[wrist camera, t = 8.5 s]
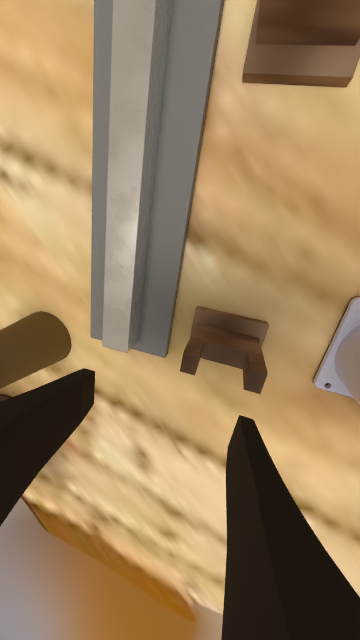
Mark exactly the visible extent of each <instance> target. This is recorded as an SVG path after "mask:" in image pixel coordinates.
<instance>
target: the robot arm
mask: <svg viewBox="0 0 360 640" xmlns="http://www.w3.org/2000/svg"><path fill="white" fill-rule="evenodd" d="M313 383H314V385H315V386H316V387H317V388H319V389H323V390H326V391H330V392H334V393H338V394H341V395H345V396H349V397H353V398H354V399H355V400H356V401H357V403H358V404H359V405H360V297H356V298H354V299H352V300H351V302H350V303H349V306H348V308H347V310H346V312H345V314H344V316H343V318H342V320H341V323H340V325H339V327H338V329H337V331H336V333H335V335H334V338H333V340H332V342H331V344H330V346H329V348H328V350H327V352H326V355H325V357H324V359H323V361H322V363H321V365H320V367H319V370H318V372H317V374H316V376H315V378H314V381H313ZM326 383H329V385H327V386H326V385H325V384H326ZM94 386H95V371H92V370H88V369H85V368H84V369H81V370H78V371H76V372H73V373H71V374H69V375H66V376H64V377H62V378H59V379H57V380H55V381H52V382H50V383H48V384H45V385H43V386H41V387H38V388H36V389H33V390H30V391H28V392H25V393H23V394H20V395H17V396H15V397H12V398H9V399H7V400H4V401H1V402H0V526H1V524H2V523H3V521H4V520H5V519H6V517H7V516H8V514H9V513H10V511H11V510H12V508H13V507H14V505H15V504H16V503H17V501H18V500H19V499H20V497H21V496H22V494H23V493H24V492H25V490H26V489H27V488H28V486H29V485H30V484H31V482H32V481H33V479H34V478H35V477H36V475H37V474H38V473H39V472H40V470H41V469H42V468H43V467H44V465H45V464H46V463H47V462H48V461H49V460H50V458H51V457H52V456H53V455H54V454H55V453H56V451H57V450H58V449H59V448H60V447H61V446H62V444H63V443H64V442H65V441H66V440H67V439H68V437H69V436H70V435H71V434H72V433H73V432H74V430H75V429H76V428H77V427H78V426H79V424H80V423H81V422H82V421H83V419H84V418H85V416H86V415H87V413H88V412H89V410H90V409H91V407H92V406H93V404H94ZM226 508H227V559H226V578H225V595H224V610H223V626H222V640H360V597H359V596H358V594H357V593H356V592H355V590H354V589H353V588H352V586H351V585H350V583H349V582H348V581H347V579H346V578H345V576H344V575H343V574H342V572H341V571H340V569H339V568H338V567H337V565H336V564H335V563H334V561H333V560H332V558H331V557H330V556H329V554H328V553H327V551H326V550H325V548H324V547H323V545H322V544H321V542H320V541H319V539H318V538H317V536H316V535H315V533H314V532H313V530H312V529H311V527H310V526H309V524H308V523H307V521H306V519H305V518H304V516H303V515H302V513H301V511H300V510H299V508H298V506H297V505H296V503H295V501H294V500H293V498H292V496H291V494H290V493H289V491H288V489H287V487H286V485H285V484H284V482H283V480H282V478H281V476H280V474H279V472H278V471H277V469H276V467H275V465H274V463H273V461H272V459H271V457H270V455H269V453H268V451H267V448H266V446H265V444H264V442H263V440H262V438H261V435H260V433H259V431H258V429H257V426H256V424H255V422H254V420H253V419H250V418H247V417H244V416H240V415H239V417H238V420H237V423H236V426H235V429H234V431H233V434H232V437H231V440H230V443H229V446H228V452H227V463H226Z"/></svg>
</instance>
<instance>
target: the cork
mask: <svg viewBox="0 0 360 640" xmlns="http://www.w3.org/2000/svg"><path fill="white" fill-rule="evenodd" d="M70 349H71V339H70V335H69V333H68V330H67V329H66V327H65V326H64V324H63V323H62V322H61V321H60V320H59V319H58V318H56V317H55V316H54V315H51V314H49V313H47V312H41V311H40V312H36V313H33V314H31V315H29V316H27V317H25V318H23V319H21V320H19V321H17V322H15V323H13V324H11V325H9V326H7V327H6V328H4V329H2V330H0V388H3V387H5V386H7V385H9V384H11V383H13V382H15V381H18V380H20V379H22V378H24V377H26V376H28V375H30V374H32V373H35V372H37V371H39V370H41V369H43V368H45V367H47V366H49V365H52V364H54V363H56V362H58V361H60V360H62V359H64V358H65V357H67V355H68V354H69V352H70Z"/></svg>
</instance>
